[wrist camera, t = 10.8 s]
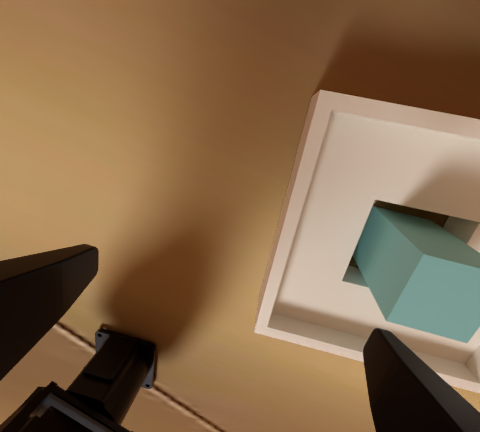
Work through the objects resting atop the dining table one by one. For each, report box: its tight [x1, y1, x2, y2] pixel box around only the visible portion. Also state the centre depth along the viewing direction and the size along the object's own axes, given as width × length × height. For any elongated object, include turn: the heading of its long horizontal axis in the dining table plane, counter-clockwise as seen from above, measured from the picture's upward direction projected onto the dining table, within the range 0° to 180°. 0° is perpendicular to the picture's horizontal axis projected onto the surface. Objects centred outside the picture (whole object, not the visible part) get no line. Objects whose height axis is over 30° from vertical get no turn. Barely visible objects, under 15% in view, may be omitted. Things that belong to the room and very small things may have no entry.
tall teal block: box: [352, 206, 480, 343], centre depth 15 cm, size 4×4×7 cm
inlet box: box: [254, 90, 480, 393], centre depth 17 cm, size 16×16×4 cm
